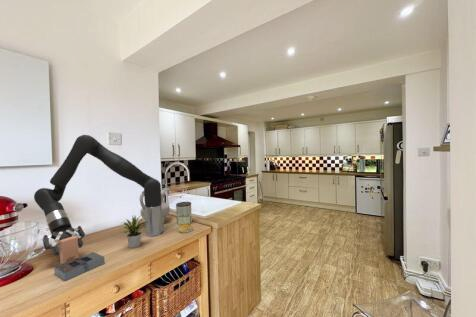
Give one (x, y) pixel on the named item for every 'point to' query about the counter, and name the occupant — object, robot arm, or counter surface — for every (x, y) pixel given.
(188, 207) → the coffee can
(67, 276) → the grey socket block
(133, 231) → the house plant
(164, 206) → the ceramic pitcher
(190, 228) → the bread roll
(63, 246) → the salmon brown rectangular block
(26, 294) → the counter surface
